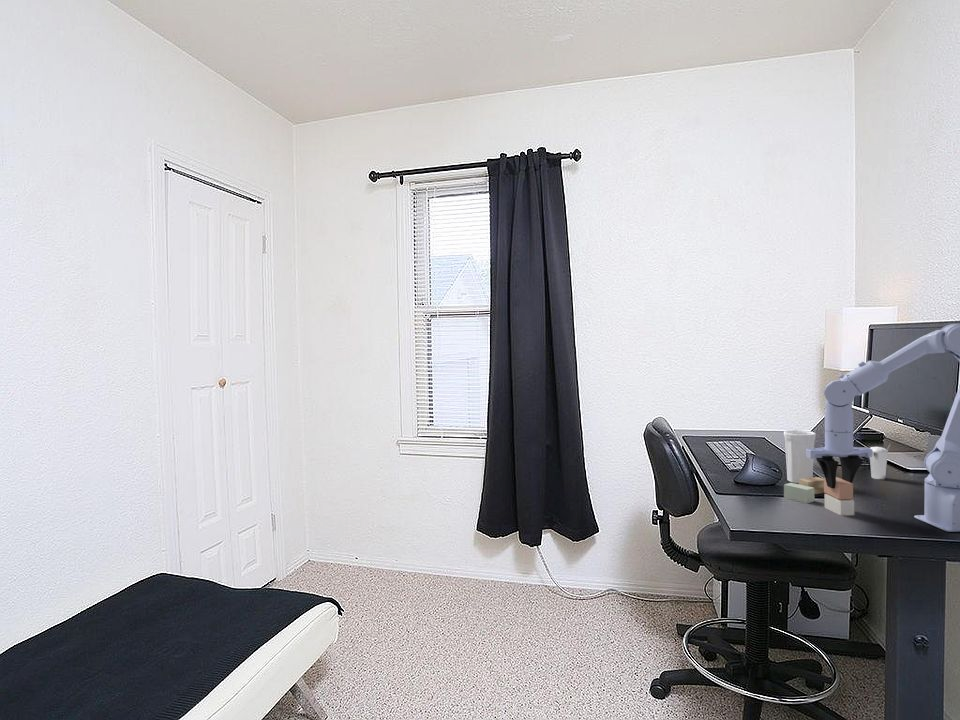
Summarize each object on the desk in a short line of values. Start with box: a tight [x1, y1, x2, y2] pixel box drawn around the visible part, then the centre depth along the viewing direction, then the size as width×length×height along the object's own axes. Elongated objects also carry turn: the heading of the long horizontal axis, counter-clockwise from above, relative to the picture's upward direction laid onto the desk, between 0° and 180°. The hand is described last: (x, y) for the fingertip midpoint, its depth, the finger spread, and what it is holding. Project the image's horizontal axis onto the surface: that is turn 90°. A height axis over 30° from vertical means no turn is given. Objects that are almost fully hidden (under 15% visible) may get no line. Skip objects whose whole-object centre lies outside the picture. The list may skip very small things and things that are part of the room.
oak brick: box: [798, 476, 826, 495], centre depth 149 cm, size 6×3×4 cm, turn 102°
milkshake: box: [869, 443, 891, 480], centre depth 161 cm, size 4×5×10 cm
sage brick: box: [783, 482, 815, 504], centre depth 143 cm, size 6×3×4 cm, turn 31°
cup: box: [783, 429, 817, 484], centre depth 159 cm, size 8×8×14 cm
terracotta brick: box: [823, 476, 854, 500], centre depth 133 cm, size 6×3×4 cm, turn 179°
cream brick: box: [824, 493, 855, 516], centre depth 133 cm, size 6×3×4 cm, turn 1°
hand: (839, 487), depth 133 cm, fingers closed on terracotta brick, 3 cm apart
